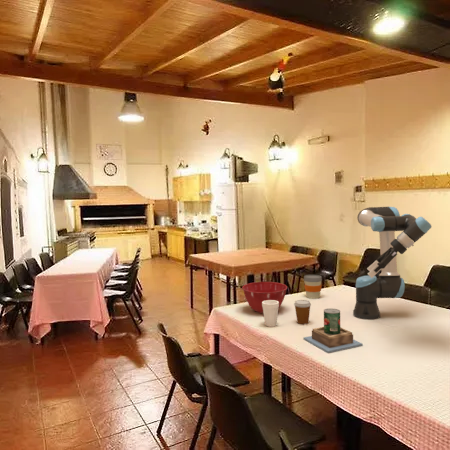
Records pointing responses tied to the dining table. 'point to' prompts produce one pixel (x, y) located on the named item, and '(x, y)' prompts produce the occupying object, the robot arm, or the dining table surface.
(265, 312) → the foam cup
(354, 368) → the dining table surface
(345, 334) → the walnut block
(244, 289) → the mixing bowl
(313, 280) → the reusable coffee cup
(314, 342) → the board
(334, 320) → the canned tomato
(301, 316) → the disposable coffee cup
